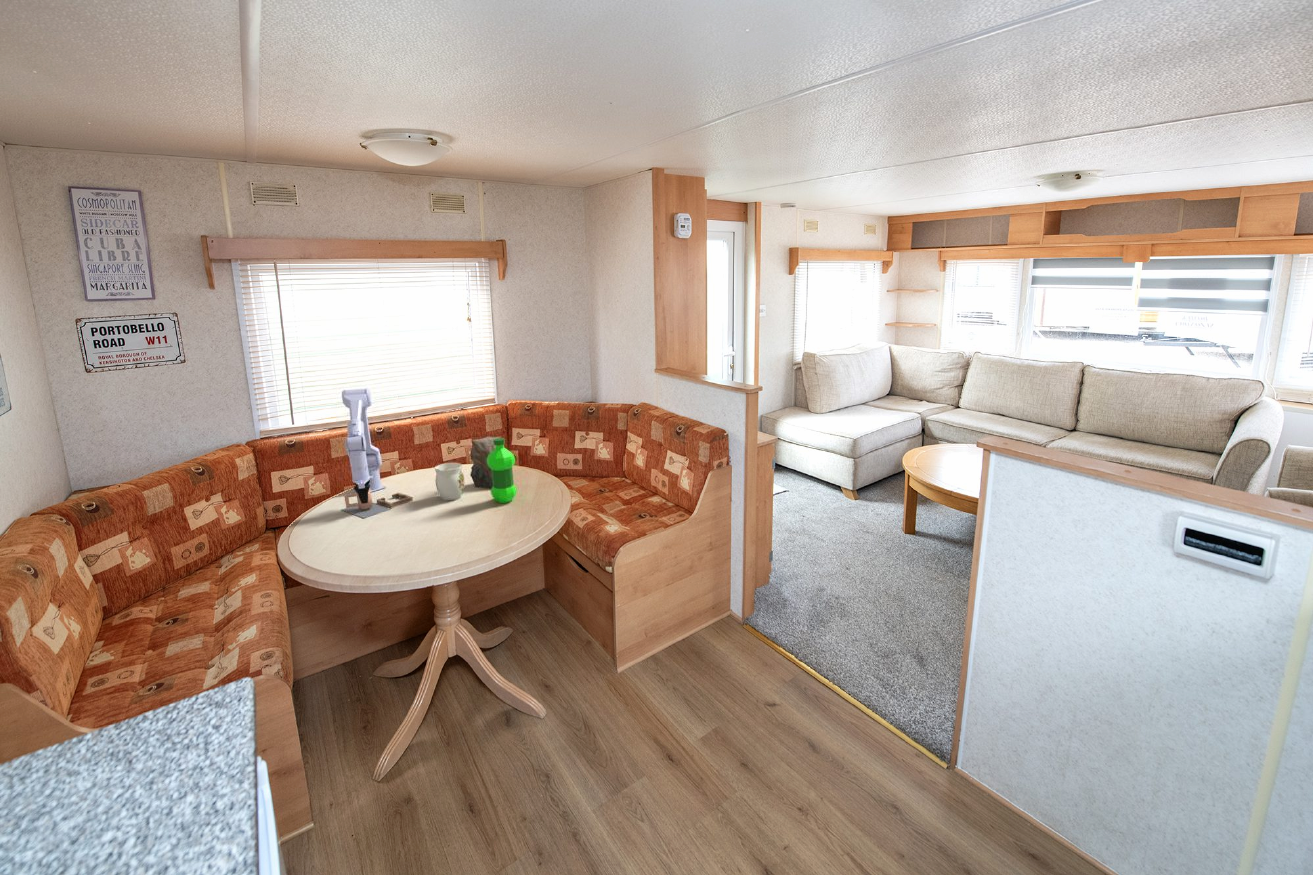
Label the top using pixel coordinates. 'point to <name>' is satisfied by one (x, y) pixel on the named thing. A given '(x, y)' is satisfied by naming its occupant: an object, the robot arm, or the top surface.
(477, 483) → the owl
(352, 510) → the mat
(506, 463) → the plastic bottle
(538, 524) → the top surface
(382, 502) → the holder
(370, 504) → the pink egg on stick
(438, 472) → the pitcher
